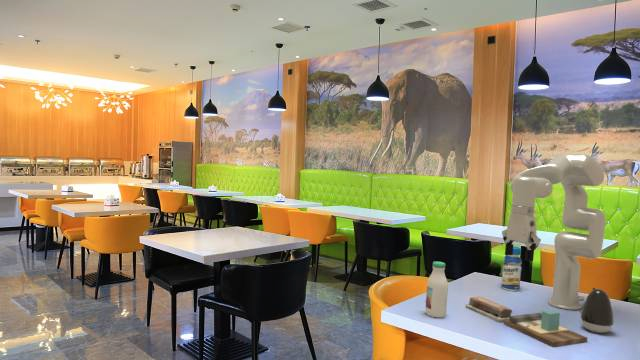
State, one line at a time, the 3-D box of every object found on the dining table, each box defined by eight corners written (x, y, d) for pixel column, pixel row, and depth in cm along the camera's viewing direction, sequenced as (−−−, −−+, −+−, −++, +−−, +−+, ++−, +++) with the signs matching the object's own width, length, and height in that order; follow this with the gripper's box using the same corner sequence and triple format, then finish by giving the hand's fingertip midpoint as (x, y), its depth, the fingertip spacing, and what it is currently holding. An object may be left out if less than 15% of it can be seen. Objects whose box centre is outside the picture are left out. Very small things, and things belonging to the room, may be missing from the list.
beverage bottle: (522, 289, 218) (525, 247, 217) (516, 292, 211) (519, 249, 211) (504, 285, 223) (508, 244, 222) (497, 288, 217) (501, 246, 216)
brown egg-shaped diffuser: (605, 327, 170) (609, 287, 170) (617, 337, 160) (621, 294, 159) (575, 323, 172) (579, 283, 172) (585, 333, 162) (588, 291, 162)
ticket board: (535, 320, 174) (536, 311, 173) (586, 341, 154) (587, 331, 154) (503, 324, 167) (504, 314, 167) (552, 347, 148) (553, 336, 148)
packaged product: (465, 296, 185) (483, 294, 189) (464, 308, 185) (482, 306, 189) (500, 310, 169) (519, 308, 173) (499, 323, 169) (518, 321, 173)
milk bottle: (447, 313, 176) (451, 262, 175) (444, 319, 169) (447, 266, 168) (427, 309, 179) (430, 259, 178) (423, 315, 172) (426, 262, 171)
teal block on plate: (553, 324, 165) (554, 307, 165) (567, 330, 159) (569, 312, 159) (526, 328, 160) (527, 309, 160) (540, 334, 154) (542, 315, 154)
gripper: (549, 214, 159) (545, 263, 160) (512, 208, 175) (509, 252, 176) (533, 213, 157) (529, 263, 157) (497, 208, 173) (493, 253, 173)
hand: (518, 257), depth 167 cm, fingers open, 9 cm apart
